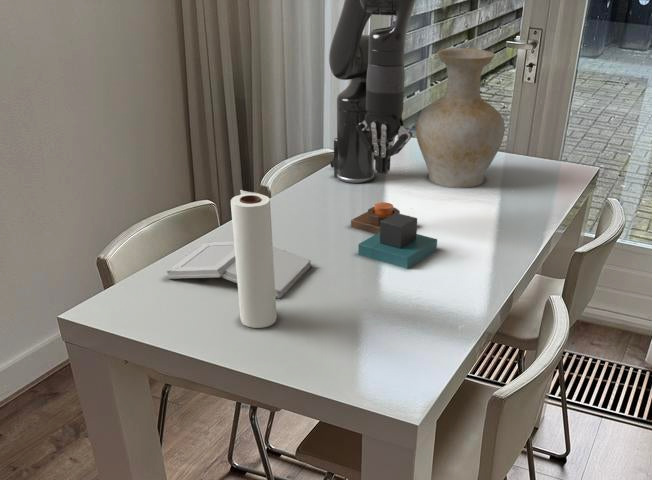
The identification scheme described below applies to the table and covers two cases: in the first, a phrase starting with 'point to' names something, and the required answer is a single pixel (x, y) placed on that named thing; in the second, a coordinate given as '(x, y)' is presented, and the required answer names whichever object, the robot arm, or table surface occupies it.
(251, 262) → the paper towel roll
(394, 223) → the black block
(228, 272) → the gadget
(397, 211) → the switch box
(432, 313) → the table surface
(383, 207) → the power button
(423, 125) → the vase
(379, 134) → the robot arm
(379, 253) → the teal square frame
